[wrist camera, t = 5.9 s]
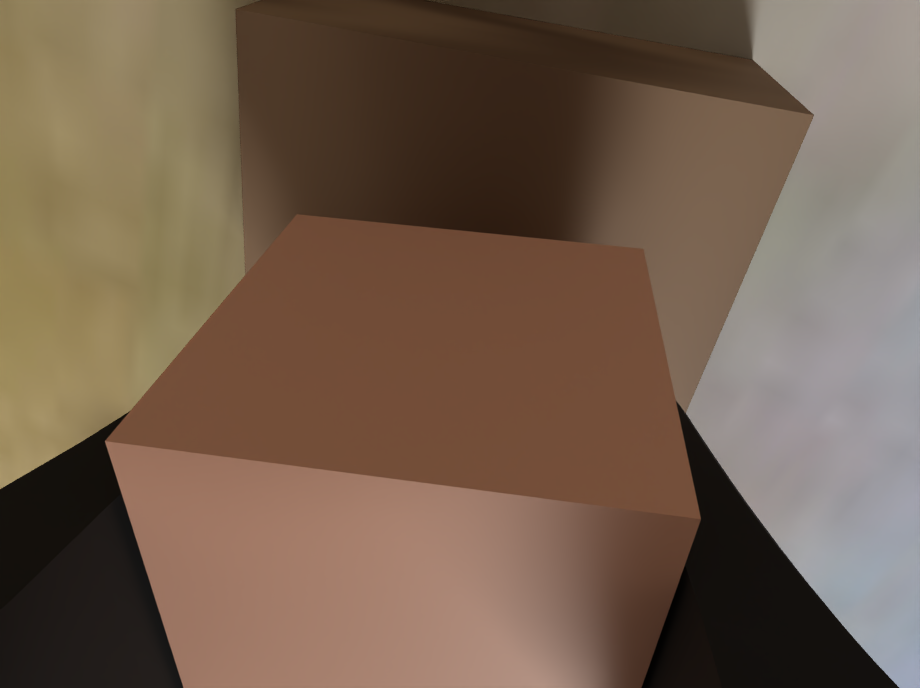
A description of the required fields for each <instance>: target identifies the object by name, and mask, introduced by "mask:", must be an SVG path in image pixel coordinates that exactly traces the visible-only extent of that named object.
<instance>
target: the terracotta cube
mask: <svg viewBox="0 0 920 688" xmlns="http://www.w3.org/2000/svg"><path fill="white" fill-rule="evenodd" d="M105 443H106V446H107V449H108V452H109V456H110V459H111V462H112V465H113V468H114V471H115V474H116V477H117V481H118V484H119V487H120V490H121V493H122V496H123V499H124V503H125V506H126V509H127V512H128V515H129V518H130V521H131V525H132V528H133V531H134V534H135V537H136V540H137V543H138V546H139V550H140V553H141V556H142V559H143V562H144V565H145V568H146V572H147V575H148V578H149V581H150V584H151V587H152V590H153V594H154V597H155V600H156V603H157V606H158V609H159V612H160V615H161V619H162V622H163V625H164V628H165V631H166V634H167V637H168V641H169V644H170V647H171V650H172V653H173V656H174V659H175V663H176V666H177V669H178V672H179V675H180V678H181V681H182V685H183V688H642V685H643V682H644V679H645V676H646V673H647V671H648V668H649V665H650V662H651V659H652V656H653V654H654V651H655V648H656V645H657V642H658V639H659V637H660V634H661V631H662V628H663V625H664V622H665V620H666V617H667V614H668V611H669V608H670V605H671V603H672V600H673V597H674V594H675V591H676V588H677V586H678V583H679V580H680V577H681V574H682V572H683V569H684V566H685V563H686V560H687V557H688V555H689V552H690V549H691V546H692V543H693V540H694V538H695V535H696V532H697V529H698V526H699V523H700V521H701V517H700V512H699V507H698V503H697V498H696V493H695V489H694V484H693V479H692V474H691V470H690V465H689V460H688V456H687V451H686V446H685V442H684V437H683V432H682V427H681V423H680V418H679V413H678V409H677V404H676V399H675V395H674V390H673V385H672V381H671V376H670V371H669V366H668V362H667V357H666V352H665V348H664V343H663V338H662V334H661V329H660V324H659V320H658V315H657V310H656V305H655V301H654V296H653V291H652V287H651V282H650V277H649V273H648V268H647V263H646V258H645V254H644V249H641V248H631V247H621V246H611V245H601V244H590V243H580V242H570V241H560V240H550V239H540V238H530V237H520V236H510V235H500V234H490V233H480V232H470V231H460V230H450V229H440V228H430V227H420V226H410V225H400V224H390V223H380V222H369V221H359V220H349V219H339V218H329V217H319V216H309V215H299V214H297V215H296V216H295V217H294V218H293V219H292V221H291V222H290V223H289V224H288V225H287V226H286V228H285V229H284V230H283V231H282V232H281V234H280V235H279V236H278V237H277V238H276V239H275V241H274V242H273V243H272V244H271V245H270V247H269V248H268V249H267V250H266V251H265V253H264V254H263V255H262V256H261V257H260V258H259V260H258V261H257V262H256V263H255V264H254V266H253V267H252V268H251V269H250V270H249V271H248V273H247V274H246V275H245V276H244V277H243V279H242V280H241V281H240V282H239V283H238V284H237V286H236V287H235V288H234V289H233V290H232V292H231V293H230V294H229V295H228V296H227V297H226V299H225V300H224V301H223V302H222V303H221V305H220V306H219V307H218V308H217V309H216V310H215V312H214V313H213V314H212V315H211V316H210V318H209V319H208V320H207V321H206V322H205V323H204V325H203V326H202V327H201V328H200V329H199V331H198V332H197V333H196V334H195V335H194V336H193V338H192V339H191V340H190V341H189V342H188V344H187V345H186V346H185V347H184V348H183V349H182V351H181V352H180V353H179V354H178V355H177V357H176V358H175V359H174V360H173V361H172V362H171V364H170V365H169V366H168V367H167V368H166V370H165V371H164V372H163V373H162V374H161V375H160V377H159V378H158V379H157V380H156V381H155V383H154V384H153V385H152V386H151V387H150V388H149V390H148V391H147V392H146V393H145V394H144V396H143V397H142V398H141V399H140V400H139V401H138V403H137V404H136V405H135V406H134V407H133V409H132V410H131V411H130V412H129V413H128V414H127V416H126V417H125V418H124V419H123V420H122V422H121V423H120V424H119V425H118V426H117V427H116V429H115V430H114V431H113V432H112V433H111V435H110V436H109V437H108V438H107V439H106V440H105Z"/></svg>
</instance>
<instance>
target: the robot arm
mask: <svg viewBox="0 0 920 688" xmlns="http://www.w3.org/2000/svg"><path fill="white" fill-rule="evenodd" d="M676 404H677V409H678V413H679V418H680V423H681V427H682V432H683V437H684V442H685V446H686V451H687V456H688V460H689V465H690V470H691V474H692V479H693V484H694V489H695V493H696V498H697V503H698V507H699V512H700V517H701V521H700V523H699V526H698V529H697V532H696V535H695V538H694V540H693V543H692V546H691V549H690V552H689V555H688V557H687V560H686V563H685V566H684V569H683V572H682V574H681V577H680V580H679V583H678V586H677V588H676V591H675V594H674V597H673V600H672V603H671V605H670V608H669V611H668V614H667V617H666V620H665V622H664V625H663V628H662V631H661V634H660V637H659V639H658V642H657V645H656V648H655V651H654V654H653V656H652V659H651V662H650V665H649V668H648V671H647V673H646V676H645V679H644V682H643V685H642V688H899V687H898V686H897V685H896V684H895V683H894V682H893V681H892V680H891V679H890V678H889V676H888V675H887V674H886V673H885V672H884V671H883V670H882V669H881V668H880V667H879V666H878V665H877V664H876V663H875V662H874V661H873V659H872V658H871V657H870V656H869V655H868V654H867V653H866V652H865V650H864V649H863V648H862V647H861V646H860V645H859V644H858V643H857V641H856V640H855V639H854V638H853V637H852V636H851V634H850V633H849V632H848V631H847V630H846V629H845V627H844V626H843V625H842V624H841V623H840V622H839V620H838V619H837V618H836V617H835V616H834V614H833V613H832V612H831V611H830V610H829V608H828V607H827V606H826V605H825V603H824V602H823V601H822V600H821V599H820V597H819V596H818V595H817V594H816V593H815V591H814V590H813V589H812V588H811V586H810V585H809V584H808V583H807V582H806V580H805V579H804V578H803V577H802V575H801V574H800V573H799V572H798V570H797V569H796V568H795V566H794V565H793V564H792V563H791V561H790V560H789V559H788V558H787V556H786V555H785V554H784V552H783V551H782V550H781V548H780V547H779V546H778V544H777V543H776V542H775V540H774V539H773V538H772V536H771V535H770V534H769V532H768V531H767V530H766V528H765V527H764V526H763V524H762V523H761V522H760V520H759V519H758V518H757V516H756V515H755V514H754V512H753V511H752V510H751V508H750V507H749V505H748V504H747V503H746V501H745V500H744V499H743V497H742V496H741V494H740V493H739V491H738V490H737V489H736V487H735V486H734V484H733V483H732V482H731V480H730V479H729V477H728V476H727V474H726V473H725V471H724V470H723V468H722V467H721V466H720V464H719V463H718V461H717V460H716V458H715V457H714V455H713V454H712V452H711V451H710V449H709V448H708V446H707V445H706V443H705V442H704V440H703V439H702V437H701V436H700V434H699V433H698V431H697V430H696V428H695V427H694V425H693V424H692V422H691V421H690V419H689V418H688V416H687V415H686V413H685V412H684V410H683V409H682V407H681V406H680V405H679V403H678V402H677V401H676ZM128 413H129V412H128ZM128 413H127V414H128ZM127 414H125V415H123V416H122V417H120V418H119V419H117V420H116V421H114V422H112V423H111V424H109V425H108V426H106V427H104V428H103V429H101V430H100V431H98V432H97V433H95V434H93V435H92V436H90V437H89V438H87V439H85V440H84V441H82V442H81V443H79V444H77V445H75V446H74V447H72V448H70V449H69V450H67V451H65V452H63V453H62V454H60V455H58V456H57V457H55V458H53V459H51V460H50V461H48V462H46V463H44V464H43V465H41V466H39V467H38V468H36V469H34V470H32V471H31V472H29V473H27V474H26V475H24V476H22V477H20V478H19V479H17V480H15V481H14V482H12V483H10V484H8V485H7V486H5V487H3V488H2V489H0V688H183V685H182V681H181V678H180V675H179V672H178V669H177V666H176V663H175V659H174V656H173V653H172V650H171V647H170V644H169V641H168V637H167V634H166V631H165V628H164V625H163V622H162V619H161V615H160V612H159V609H158V606H157V603H156V600H155V597H154V594H153V590H152V587H151V584H150V581H149V578H148V575H147V572H146V568H145V565H144V562H143V559H142V556H141V553H140V550H139V546H138V543H137V540H136V537H135V534H134V531H133V528H132V525H131V521H130V518H129V515H128V512H127V509H126V506H125V503H124V499H123V496H122V493H121V490H120V487H119V484H118V481H117V477H116V474H115V471H114V468H113V465H112V462H111V459H110V456H109V452H108V449H107V446H106V443H105V440H106V439H107V438H108V437H109V436H110V435H111V433H112V432H113V431H114V430H115V429H116V427H117V426H118V425H119V424H120V423H121V422H122V420H123V419H124V418H125V417H126V416H127Z"/></svg>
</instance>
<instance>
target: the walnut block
mask: <svg viewBox="0 0 920 688" xmlns="http://www.w3.org/2000/svg"><path fill="white" fill-rule="evenodd" d="M236 36H237V63H238V90H239V117H240V144H241V171H242V198H243V225H244V252H245V275H246V274H247V273H248V271H249V270H250V269H251V268H252V267H253V266H254V264H255V263H256V262H257V261H258V260H259V258H260V257H261V256H262V255H263V254H264V253H265V251H266V250H267V249H268V248H269V247H270V245H271V244H272V243H273V242H274V241H275V239H276V238H277V237H278V236H279V235H280V234H281V232H282V231H283V230H284V229H285V228H286V226H287V225H288V224H289V223H290V222H291V221H292V219H293V218H294V217H295V216H296V215H297V214H299V215H309V216H319V217H329V218H339V219H349V220H359V221H369V222H380V223H390V224H400V225H410V226H420V227H430V228H440V229H450V230H460V231H470V232H480V233H490V234H500V235H510V236H520V237H530V238H540V239H550V240H560V241H570V242H580V243H590V244H601V245H611V246H621V247H631V248H641V249H644V254H645V258H646V263H647V268H648V273H649V277H650V282H651V287H652V291H653V296H654V301H655V305H656V310H657V315H658V320H659V324H660V329H661V334H662V338H663V343H664V348H665V352H666V357H667V362H668V366H669V371H670V376H671V381H672V385H673V390H674V395H675V399H676V401H677V402H678V403H679V405H680V406H681V407H682V409H683V410H684V412H685V413H686V411H687V409H688V406H689V404H690V402H691V399H692V397H693V395H694V392H695V390H696V388H697V385H698V383H699V381H700V379H701V376H702V374H703V372H704V369H705V367H706V365H707V362H708V360H709V358H710V355H711V353H712V351H713V348H714V346H715V344H716V341H717V339H718V337H719V334H720V332H721V330H722V328H723V325H724V323H725V321H726V318H727V316H728V314H729V311H730V309H731V307H732V304H733V302H734V300H735V297H736V295H737V293H738V290H739V288H740V286H741V283H742V281H743V279H744V276H745V274H746V272H747V270H748V267H749V265H750V263H751V260H752V258H753V256H754V253H755V251H756V249H757V246H758V244H759V242H760V239H761V237H762V235H763V232H764V230H765V228H766V225H767V223H768V221H769V219H770V216H771V214H772V212H773V209H774V207H775V205H776V202H777V200H778V198H779V195H780V193H781V191H782V188H783V186H784V184H785V181H786V179H787V177H788V174H789V172H790V170H791V168H792V165H793V163H794V161H795V158H796V156H797V154H798V151H799V149H800V147H801V144H802V142H803V140H804V137H805V135H806V133H807V130H808V128H809V126H810V123H811V121H812V119H813V116H814V115H813V114H812V113H811V112H810V111H809V110H808V109H807V108H805V107H804V106H803V105H802V104H801V103H800V102H799V101H798V100H797V99H795V98H794V97H793V96H792V95H791V94H790V93H789V92H788V91H787V90H785V89H784V88H783V87H782V86H781V85H780V84H779V83H778V82H777V81H776V80H774V79H773V78H772V77H771V76H770V75H769V74H768V73H767V72H766V71H764V70H763V69H762V68H761V67H760V66H759V65H758V64H757V63H756V62H754V61H753V60H751V59H745V58H740V57H734V56H729V55H723V54H718V53H712V52H707V51H701V50H696V49H690V48H685V47H679V46H674V45H668V44H663V43H657V42H651V41H646V40H640V39H635V38H629V37H624V36H618V35H613V34H607V33H602V32H596V31H591V30H585V29H580V28H574V27H569V26H563V25H558V24H552V23H547V22H541V21H536V20H530V19H525V18H519V17H514V16H508V15H503V14H497V13H491V12H486V11H480V10H475V9H469V8H464V7H458V6H453V5H447V4H442V3H436V2H431V1H425V0H261V1H258V2H255V3H252V4H249V5H246V6H243V7H240V8H237V9H236Z"/></svg>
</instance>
